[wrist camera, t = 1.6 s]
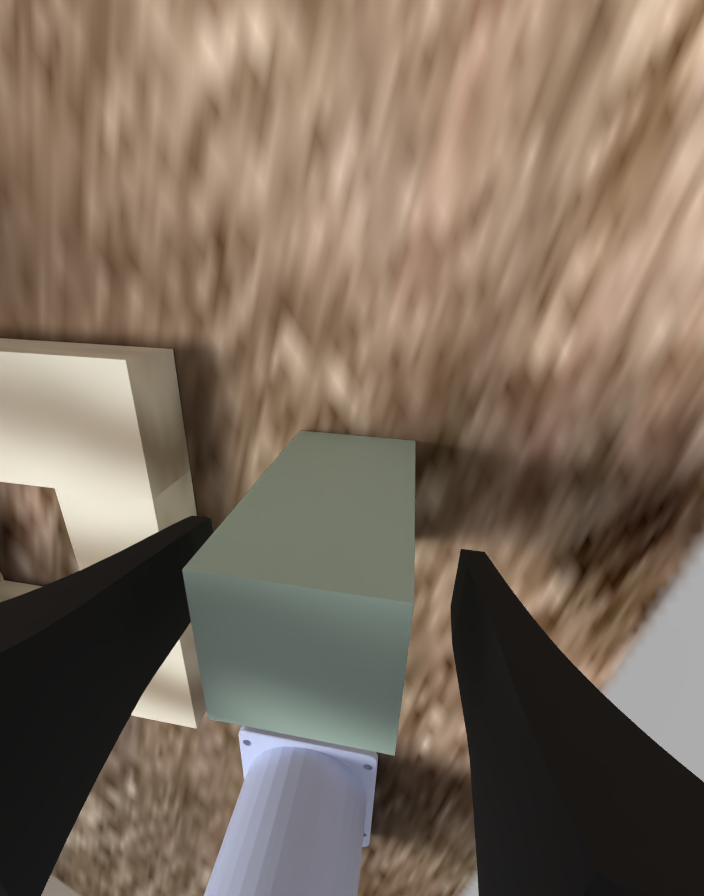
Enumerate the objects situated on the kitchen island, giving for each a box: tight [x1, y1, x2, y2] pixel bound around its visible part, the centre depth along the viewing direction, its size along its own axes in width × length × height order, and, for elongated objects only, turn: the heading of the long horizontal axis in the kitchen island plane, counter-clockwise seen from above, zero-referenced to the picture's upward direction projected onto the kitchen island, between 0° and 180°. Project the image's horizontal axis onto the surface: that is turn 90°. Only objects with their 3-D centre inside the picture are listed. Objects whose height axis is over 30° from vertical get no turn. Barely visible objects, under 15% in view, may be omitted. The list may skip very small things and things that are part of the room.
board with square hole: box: [0, 338, 206, 728], centre depth 17 cm, size 18×16×2 cm
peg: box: [182, 431, 415, 756], centre depth 11 cm, size 4×4×8 cm
